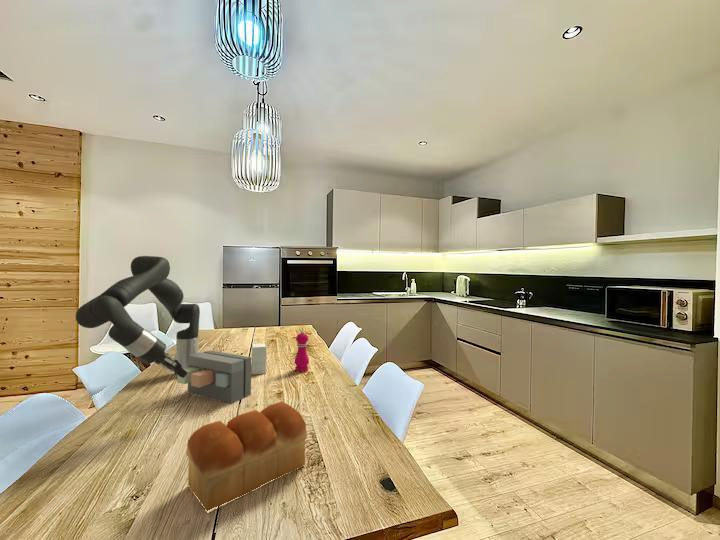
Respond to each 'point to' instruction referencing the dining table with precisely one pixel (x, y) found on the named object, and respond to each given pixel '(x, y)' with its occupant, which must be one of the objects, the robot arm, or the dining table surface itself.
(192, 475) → the bread
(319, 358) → the dining table surface
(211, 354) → the keypad console
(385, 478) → the dining table surface
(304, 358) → the pepper mill
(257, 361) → the small box
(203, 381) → the terracotta key
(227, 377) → the grey rectangular block
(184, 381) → the sage key
